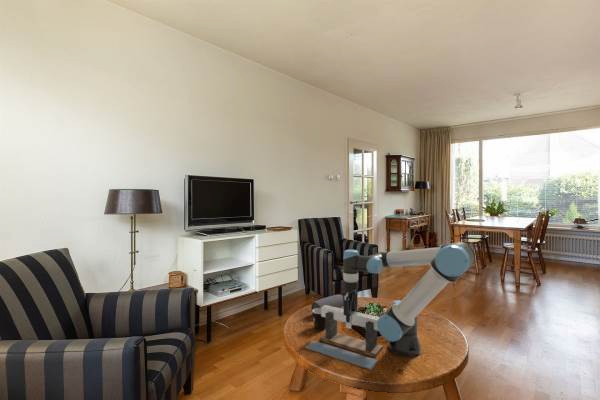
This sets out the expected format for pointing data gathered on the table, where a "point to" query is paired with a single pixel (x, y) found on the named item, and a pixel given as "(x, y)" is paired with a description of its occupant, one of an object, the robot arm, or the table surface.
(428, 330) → the table surface
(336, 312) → the rail
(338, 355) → the mat
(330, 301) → the bluetooth speaker
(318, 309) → the coffee mug
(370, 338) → the wooden stand
